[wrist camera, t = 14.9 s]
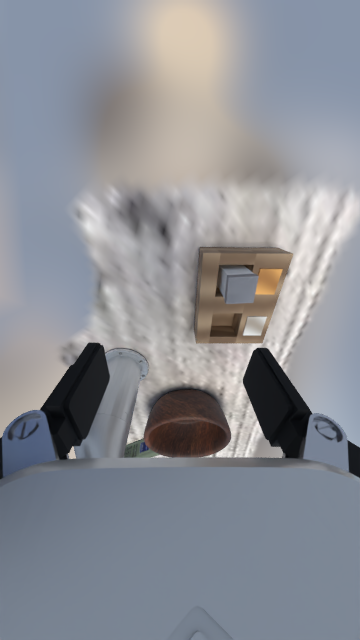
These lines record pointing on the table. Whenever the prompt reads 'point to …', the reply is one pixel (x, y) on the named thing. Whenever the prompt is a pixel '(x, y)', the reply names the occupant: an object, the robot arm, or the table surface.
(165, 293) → the table surface
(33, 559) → the robot arm
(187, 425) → the wooden bowl
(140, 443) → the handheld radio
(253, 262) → the socket block
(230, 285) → the plug
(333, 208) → the table surface
